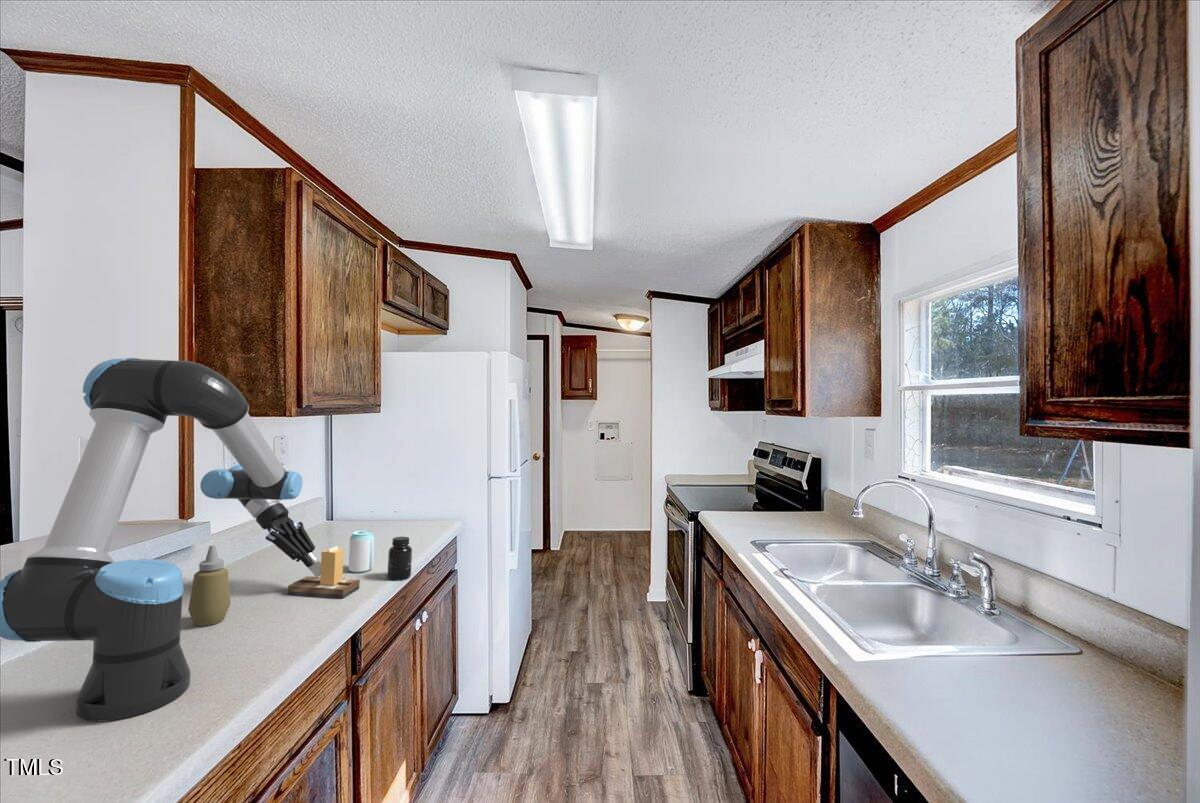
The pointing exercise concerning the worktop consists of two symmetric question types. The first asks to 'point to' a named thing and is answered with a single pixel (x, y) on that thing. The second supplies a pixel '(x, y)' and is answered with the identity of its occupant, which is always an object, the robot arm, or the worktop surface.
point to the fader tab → (331, 566)
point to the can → (361, 551)
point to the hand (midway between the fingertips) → (321, 573)
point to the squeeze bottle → (210, 591)
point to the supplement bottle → (399, 559)
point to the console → (323, 588)
